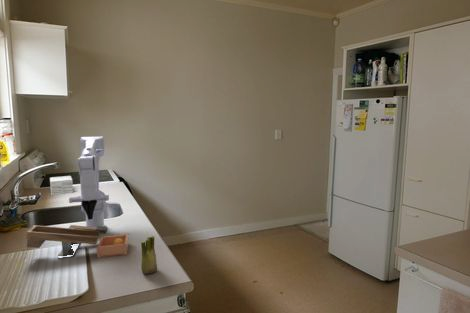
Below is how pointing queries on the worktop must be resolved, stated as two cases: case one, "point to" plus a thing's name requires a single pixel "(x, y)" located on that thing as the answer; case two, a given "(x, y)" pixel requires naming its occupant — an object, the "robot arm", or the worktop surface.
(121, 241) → the ball
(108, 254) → the open box
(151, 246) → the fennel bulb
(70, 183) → the white napkin stack
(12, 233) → the worktop surface
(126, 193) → the worktop surface
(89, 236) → the wooden tray
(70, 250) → the stand
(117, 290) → the worktop surface
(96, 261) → the worktop surface
